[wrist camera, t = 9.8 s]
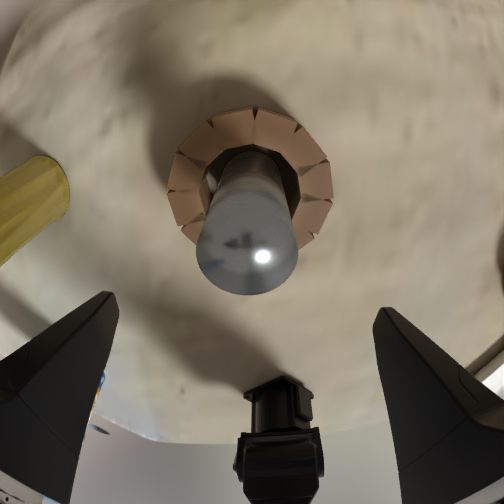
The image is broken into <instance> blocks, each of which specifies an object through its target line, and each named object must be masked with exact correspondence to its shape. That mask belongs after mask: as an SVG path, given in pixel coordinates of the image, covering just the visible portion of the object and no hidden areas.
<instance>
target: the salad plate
mask: <svg viewBox="0 0 504 504" xmlns="http://www.w3.org/2000/svg"><path fill="white" fill-rule="evenodd" d="M474 377H475V378H476V379H477V380H479V381H480V382H481V383H483V384H484V385H485V386H486V387H488V388H489V389H490V390H492V391H493V392H494V393H495V394H497V395H498V396H499V397H501V398H502V399H504V350H503V351H502V352H500V353H499V354H498V355H497V356H496V357H495V358H494V359H493V360H491V361H490V362H489V363H488V364H487V365H486V366H484V367H483V368H482V369H481V370H480V371H478V372H477V373H476V374H475V375H474Z"/></svg>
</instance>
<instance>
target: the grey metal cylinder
mask: <svg viewBox="0 0 504 504" xmlns="http://www.w3.org/2000/svg"><path fill="white" fill-rule="evenodd" d="M196 257H197V261H198V264H199V267H200V269H201V271H202V272H203V274H204V275H205V276H206V278H207V279H208V280H209V281H210V282H212V283H213V284H214V285H216V286H217V287H219V288H220V289H222V290H225V291H227V292H230V293H233V294H238V295H258V294H262V293H266V292H269V291H271V290H273V289H275V288H277V287H278V286H280V285H281V284H282V283H284V282H285V281H286V280H287V279H288V278H289V276H290V275H291V274H292V272H293V270H294V268H295V266H296V263H297V258H298V247H297V242H296V238H295V234H294V229H293V225H292V221H291V217H290V213H289V209H288V205H287V200H286V196H285V193H284V189H283V185H282V181H281V177H280V173H279V170H278V167H277V166H276V164H275V163H274V161H273V160H272V159H271V158H269V157H268V156H266V155H265V154H262V153H259V152H254V151H248V152H243V153H240V154H238V155H236V156H234V157H233V158H232V159H231V160H230V161H229V162H228V163H227V165H226V166H225V168H224V171H223V173H222V176H221V179H220V181H219V184H218V186H217V189H216V192H215V194H214V197H213V199H212V202H211V205H210V207H209V210H208V213H207V215H206V218H205V221H204V224H203V226H202V229H201V232H200V235H199V238H198V240H197V245H196Z"/></svg>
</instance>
